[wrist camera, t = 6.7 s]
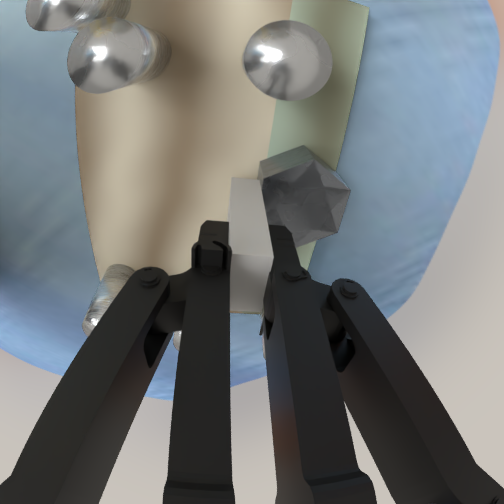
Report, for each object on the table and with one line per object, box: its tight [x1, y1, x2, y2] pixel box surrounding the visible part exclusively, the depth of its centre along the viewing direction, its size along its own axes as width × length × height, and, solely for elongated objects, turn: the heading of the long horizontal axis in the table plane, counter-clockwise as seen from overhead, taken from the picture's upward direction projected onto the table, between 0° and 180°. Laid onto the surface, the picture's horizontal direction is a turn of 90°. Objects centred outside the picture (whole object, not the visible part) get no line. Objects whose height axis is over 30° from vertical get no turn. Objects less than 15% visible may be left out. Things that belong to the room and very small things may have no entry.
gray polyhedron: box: [257, 145, 351, 248], centre depth 15 cm, size 5×4×2 cm
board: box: [75, 0, 369, 314], centre depth 16 cm, size 15×22×1 cm
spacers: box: [26, 0, 333, 360], centre depth 13 cm, size 15×22×5 cm
